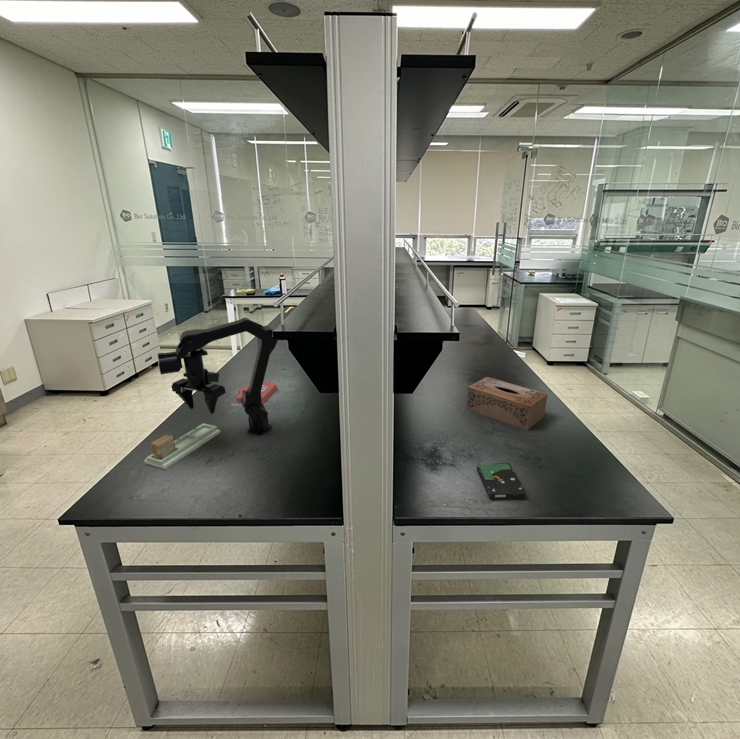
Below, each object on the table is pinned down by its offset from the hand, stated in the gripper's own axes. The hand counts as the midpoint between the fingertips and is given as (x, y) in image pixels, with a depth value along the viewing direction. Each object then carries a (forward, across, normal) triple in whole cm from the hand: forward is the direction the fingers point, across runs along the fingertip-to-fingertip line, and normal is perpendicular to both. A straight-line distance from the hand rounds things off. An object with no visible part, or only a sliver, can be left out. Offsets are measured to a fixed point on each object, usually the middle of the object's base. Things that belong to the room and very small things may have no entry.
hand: (202, 411), depth 144 cm
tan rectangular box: (+11, +5, +14) cm, 18 cm away
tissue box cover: (+12, -94, -62) cm, 113 cm away
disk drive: (+13, -98, -15) cm, 100 cm away
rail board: (+12, +4, +6) cm, 14 cm away
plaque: (+13, +10, -38) cm, 41 cm away
